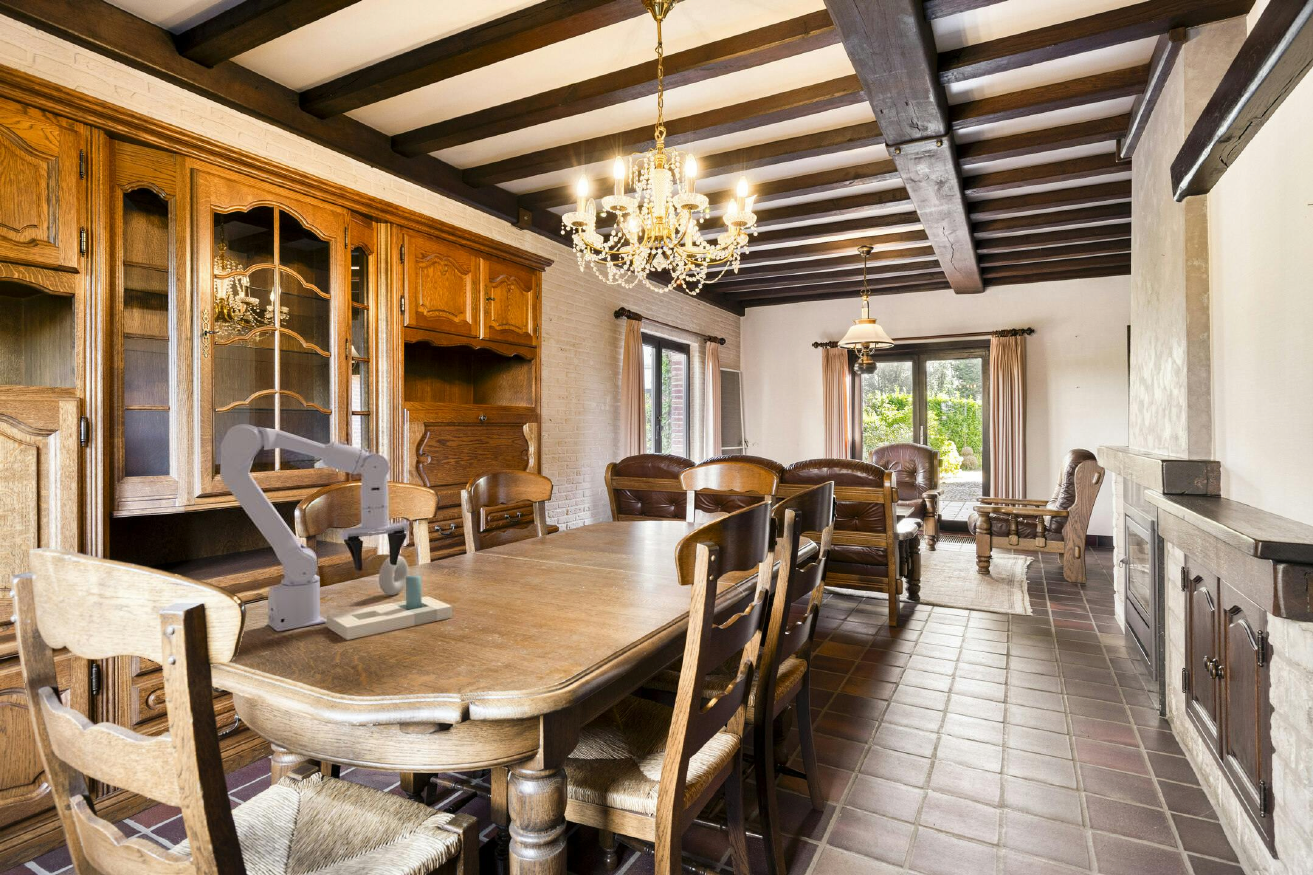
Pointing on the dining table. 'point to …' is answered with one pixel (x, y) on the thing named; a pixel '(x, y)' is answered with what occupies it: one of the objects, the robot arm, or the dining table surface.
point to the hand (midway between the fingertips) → (376, 567)
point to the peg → (413, 592)
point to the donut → (389, 571)
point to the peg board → (386, 618)
